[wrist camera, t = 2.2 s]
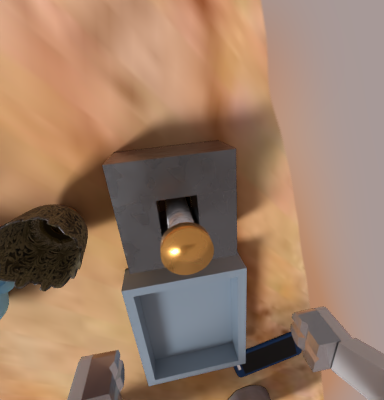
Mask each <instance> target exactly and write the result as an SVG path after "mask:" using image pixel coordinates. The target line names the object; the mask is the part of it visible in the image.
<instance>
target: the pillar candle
mask: <svg viewBox="0 0 384 400" xmlns="http://www.w3.org/2000/svg"><path fill="white" fill-rule="evenodd" d="M228 400H271V399H270V397H269V394H268V392H267V390H266V389H265V388H264V387H262V386H257V385H253V386H247V387H243V388H241V389H239V390H237V391H235V392H234V393H233V395H232V396H231V397H230V398H229V399H228Z"/></svg>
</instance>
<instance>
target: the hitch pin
mask: <svg viewBox="0 0 384 400" xmlns="http://www.w3.org/2000/svg"><path fill="white" fill-rule="evenodd" d="M165 206H166V214H167V222H168V230H167V231H166V232H165V233H164V235H163V236H162V239H161V242H160V253H161V261H162V263H163V265H164V266H165V267H166V268H167V269H168V270H169V271H171V272H173V273H175V274H179V275H190V274H194V273H197V272H199V271H201V270H203V269H204V268H205V267H206V266H207V265H208V264H209V263H210V261H211V260H212V258H213V254H214V246H213V243H212V241H211V238H210V236H209V234H208V232H207V231H206V229H205V228H204V227H202V226H201V225H199V224H196V223H194V221H193V219H192V216H191V213H190V210H189V207H188V204H187V202H186V199H185V197H179V198H172V199H165Z"/></svg>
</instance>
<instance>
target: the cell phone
mask: <svg viewBox="0 0 384 400" xmlns="http://www.w3.org/2000/svg"><path fill="white" fill-rule="evenodd" d="M301 352H302V349H301V348H299V347H298V346H297V345H296V343H295V341H294V339H293V337H292V334H291V332H289V333H286V334H284V335H281V336H279V337H276V338H274V339H271V340H269V341H266V342H264V343H261V344H259V345H256V346H254V347H251V348H249V349H246V363H245V364H241V365H237V366H234V369H235V371H236V373H237V375H238V376H239V377H244V376H247V375H249V374H252V373H254V372H257V371H259V370H262V369H264V368H267V367H269V366H272V365H274V364H277V363H279V362H281V361H284V360H286V359H289V358H291V357H294V356H296V355H299V354H300V353H301Z"/></svg>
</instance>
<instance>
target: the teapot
mask: <svg viewBox="0 0 384 400" xmlns="http://www.w3.org/2000/svg"><path fill="white" fill-rule="evenodd" d="M14 283H15V282H8V281H1V280H0V319H1V318H2V317H3V315H4V314H5V313H6V311H7V308H8V305H9V295H8V292H9V291H10V290H12V289H13V287H14Z"/></svg>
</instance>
